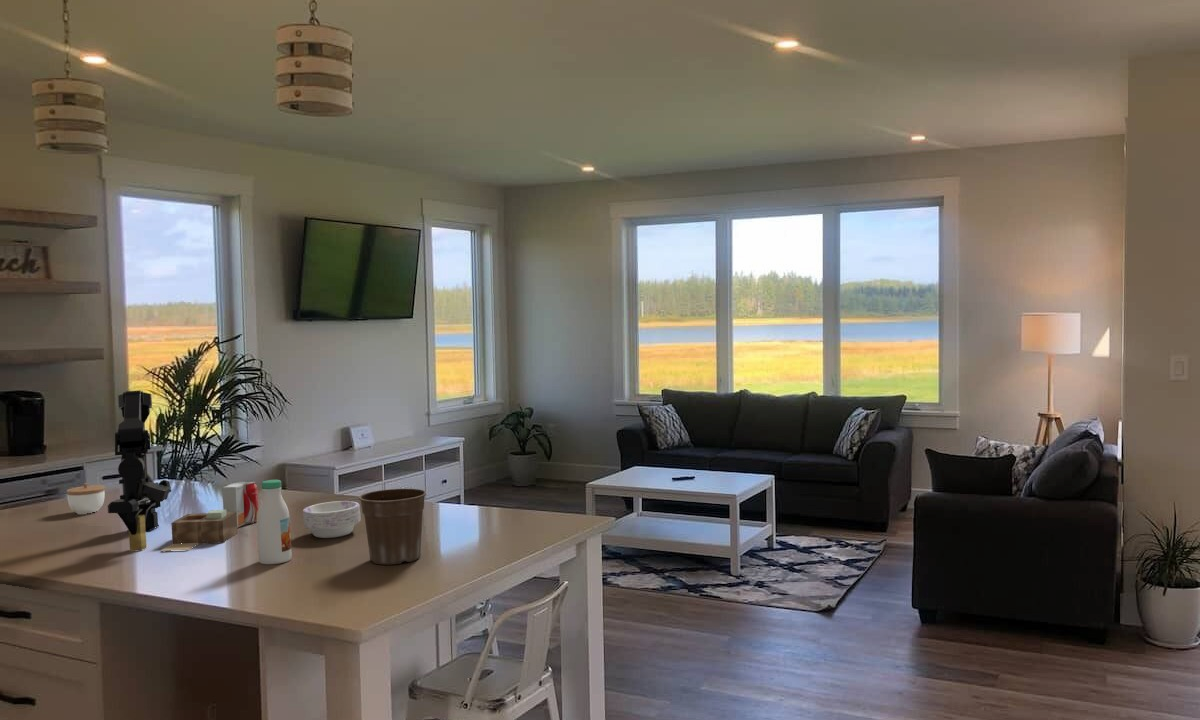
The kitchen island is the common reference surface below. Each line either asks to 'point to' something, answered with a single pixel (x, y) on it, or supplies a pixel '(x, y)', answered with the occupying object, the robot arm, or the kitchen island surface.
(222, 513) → the on button
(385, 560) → the plant pot
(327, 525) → the paper bowls
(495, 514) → the kitchen island surface
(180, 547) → the pad
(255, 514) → the soda can
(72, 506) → the lidded jar
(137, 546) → the square wooden peg
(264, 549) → the milk bottle
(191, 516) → the block
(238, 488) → the skincare box
